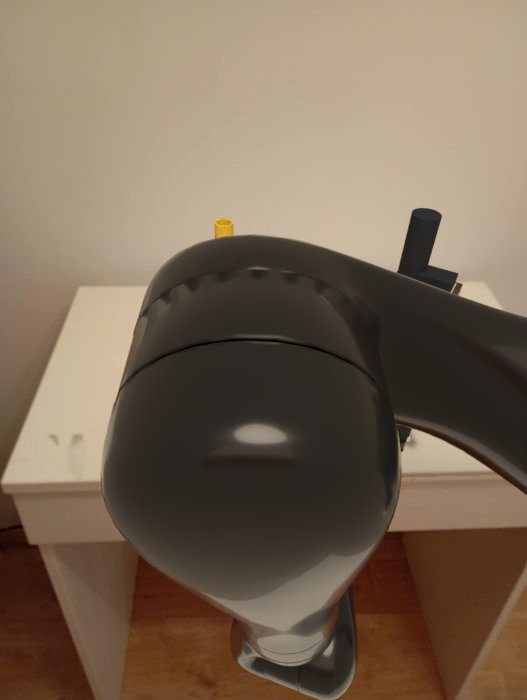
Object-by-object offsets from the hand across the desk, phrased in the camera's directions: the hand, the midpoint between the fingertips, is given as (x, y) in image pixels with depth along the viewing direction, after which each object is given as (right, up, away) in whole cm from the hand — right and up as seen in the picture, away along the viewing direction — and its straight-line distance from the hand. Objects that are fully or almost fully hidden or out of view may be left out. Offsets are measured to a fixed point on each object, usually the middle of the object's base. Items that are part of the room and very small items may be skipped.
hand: (361, 376), depth 63 cm
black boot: (+17, +16, +24) cm, 33 cm away
